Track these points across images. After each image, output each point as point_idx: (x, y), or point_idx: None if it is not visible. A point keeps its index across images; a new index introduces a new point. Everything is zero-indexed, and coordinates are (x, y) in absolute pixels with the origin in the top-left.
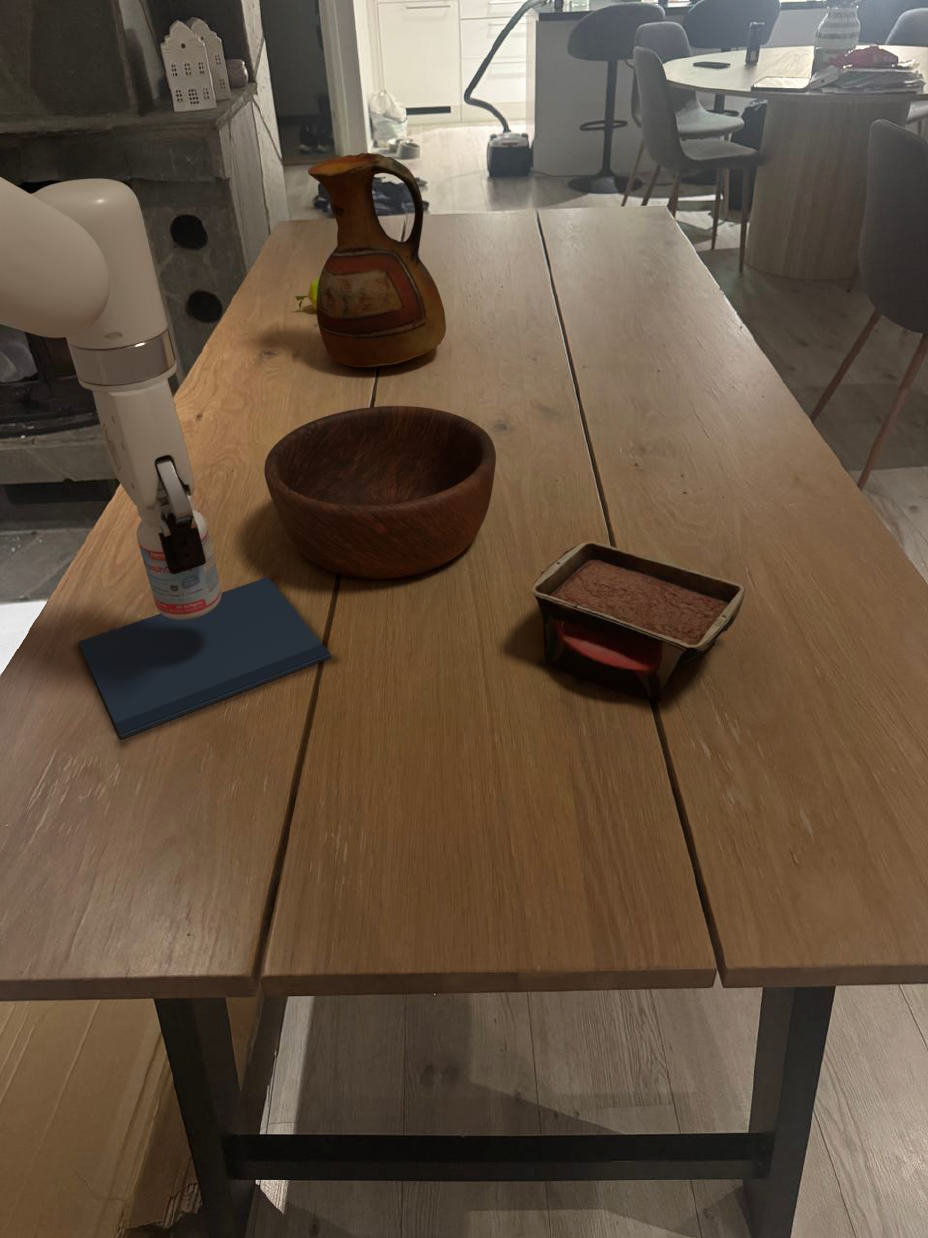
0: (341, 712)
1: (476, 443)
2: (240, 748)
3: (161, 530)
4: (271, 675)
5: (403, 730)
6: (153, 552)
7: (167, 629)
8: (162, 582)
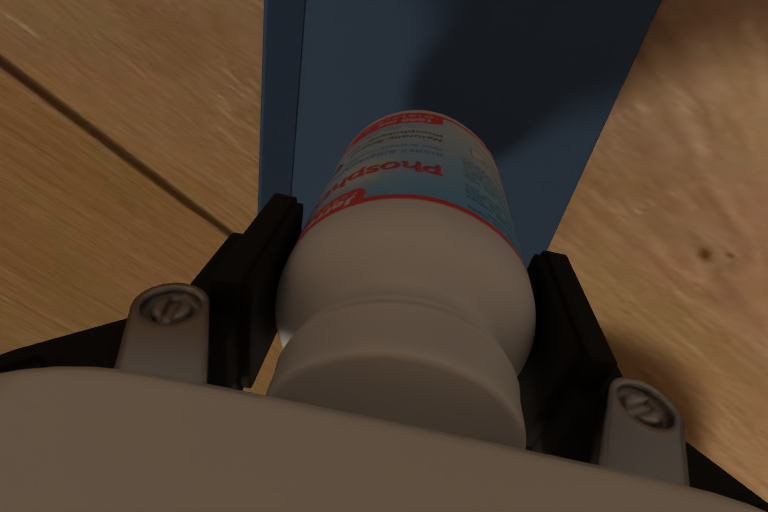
0: (134, 208)
1: None
2: (124, 40)
3: (205, 302)
4: (261, 185)
5: (61, 240)
6: (339, 209)
7: (533, 124)
8: (357, 160)
